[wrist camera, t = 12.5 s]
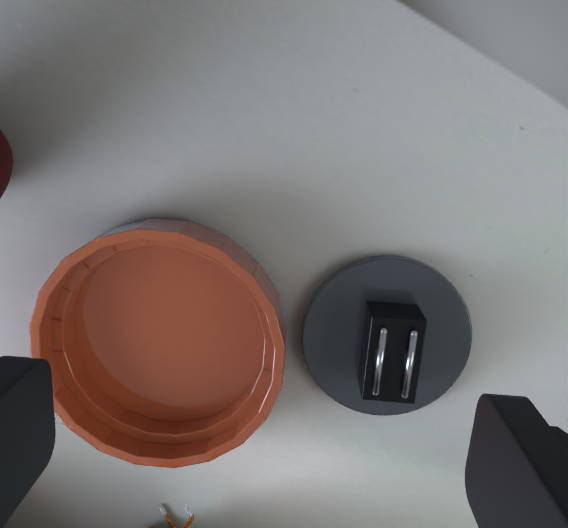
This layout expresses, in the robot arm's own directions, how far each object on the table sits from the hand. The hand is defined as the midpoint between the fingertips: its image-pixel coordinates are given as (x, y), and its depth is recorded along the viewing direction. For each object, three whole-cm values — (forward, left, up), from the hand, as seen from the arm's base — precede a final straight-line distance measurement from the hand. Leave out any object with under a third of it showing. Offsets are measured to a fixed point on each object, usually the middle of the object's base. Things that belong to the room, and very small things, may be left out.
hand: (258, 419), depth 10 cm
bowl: (+8, -7, -22) cm, 24 cm away
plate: (+7, +6, -22) cm, 24 cm away
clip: (+7, +6, -21) cm, 23 cm away
